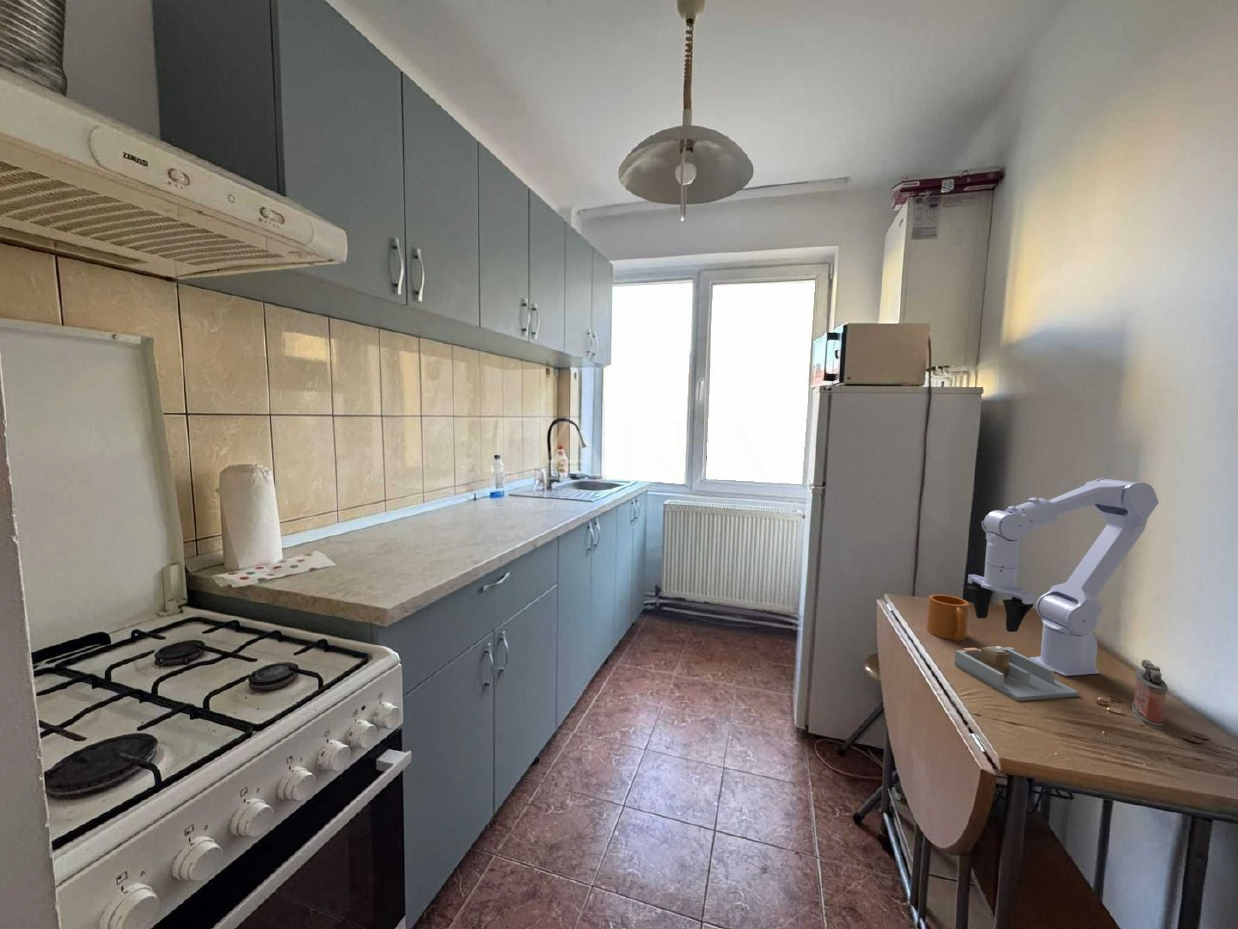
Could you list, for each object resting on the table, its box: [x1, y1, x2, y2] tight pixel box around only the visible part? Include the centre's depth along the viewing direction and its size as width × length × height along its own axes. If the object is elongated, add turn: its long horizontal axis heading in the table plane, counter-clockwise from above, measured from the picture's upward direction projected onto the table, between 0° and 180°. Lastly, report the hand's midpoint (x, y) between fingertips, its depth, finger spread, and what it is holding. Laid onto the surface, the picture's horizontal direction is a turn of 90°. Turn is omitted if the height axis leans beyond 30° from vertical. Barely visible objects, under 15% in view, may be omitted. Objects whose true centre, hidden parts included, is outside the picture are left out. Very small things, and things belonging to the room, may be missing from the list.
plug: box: [980, 646, 1010, 677], centre depth 108 cm, size 4×4×5 cm
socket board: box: [954, 645, 1080, 702], centre depth 107 cm, size 14×15×4 cm
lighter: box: [1131, 659, 1168, 730], centre depth 93 cm, size 8×3×10 cm, turn 148°
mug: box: [926, 594, 970, 642], centre depth 129 cm, size 9×12×9 cm
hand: (996, 624), depth 113 cm, fingers open, 7 cm apart
